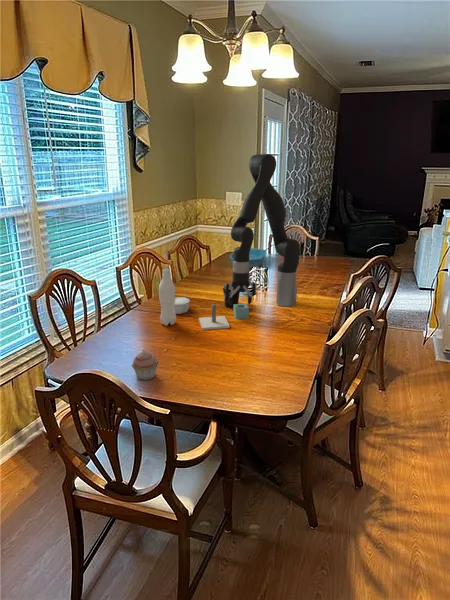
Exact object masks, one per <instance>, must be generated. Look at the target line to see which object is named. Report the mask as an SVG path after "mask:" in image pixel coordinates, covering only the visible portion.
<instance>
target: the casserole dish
mask: <svg viewBox="0 0 450 600" xmlns="http://www.w3.org/2000/svg"><path fill="white" fill-rule="evenodd" d="M266 254H267V250H266V249H262V248H256V247H253V248H252V247H251V249H250V252H249V266H250V267H249V268H250V269H253V268H252V267H254V266H255V267H256V266H258V267H260V266H261V265H262V263H263V262H264V260H265V257H266ZM229 259H230V261H231V264H232V265H233V262H234V251H232V253H231V254H230V255H229Z"/></svg>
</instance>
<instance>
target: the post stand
mask: <svg viewBox="0 0 450 600" xmlns="http://www.w3.org/2000/svg"><path fill="white" fill-rule="evenodd" d="M216 308H217V304H214V303H213V304H211V316H207V317H198V321H199V325H200V327H201V330H202V331H205V330H207V331H209V330H220V329H230V328H231V327H230V324H229V322H228V320H227V318H226V316H225V315H223V316H221V315H220V316H217V310H216Z"/></svg>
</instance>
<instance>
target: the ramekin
mask: <svg viewBox="0 0 450 600" xmlns="http://www.w3.org/2000/svg"><path fill="white" fill-rule="evenodd" d="M175 299H176V300H175V303H174V309H175V314H176V315H177V314H178V315H179V314H181V315H182V314H186V313H188V311H189V310H190V309H189V308H190V303H191V300H190V299H189V298H187V297H184V296H183V297H182V296H175Z"/></svg>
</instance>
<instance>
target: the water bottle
mask: <svg viewBox="0 0 450 600" xmlns="http://www.w3.org/2000/svg"><path fill="white" fill-rule="evenodd" d="M161 275H162V278H161V281H160V283H159V285H158V297H159V298H158V299H159V304H160V310H161V311H160V316H159V319H160V320H159V321H160V322H161V324H162V325H163V326H166V327H167V326H168V325H169V324H170V325H171V326H173V325H174V324H175V323H176V320H177V314H175V309H174V303H175V300H176V299H175V297H176V286H175V283H174V282H173V280H172V278H171V271H170V269H169V268H164V269H162V274H161Z"/></svg>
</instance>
